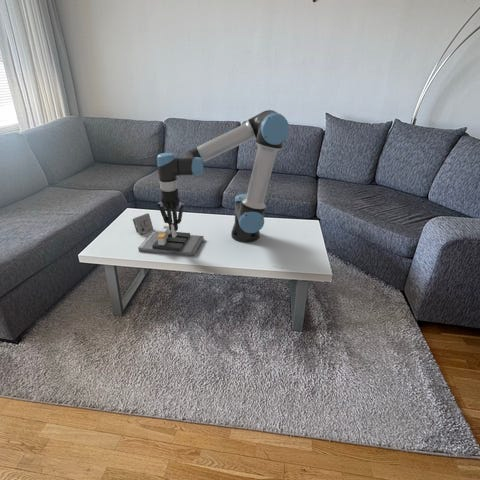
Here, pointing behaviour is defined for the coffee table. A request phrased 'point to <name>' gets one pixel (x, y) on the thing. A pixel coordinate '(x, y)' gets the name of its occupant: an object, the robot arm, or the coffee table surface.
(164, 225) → the block
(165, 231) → the block
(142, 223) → the electrical switch
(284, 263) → the coffee table surface
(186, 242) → the panel
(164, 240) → the block
